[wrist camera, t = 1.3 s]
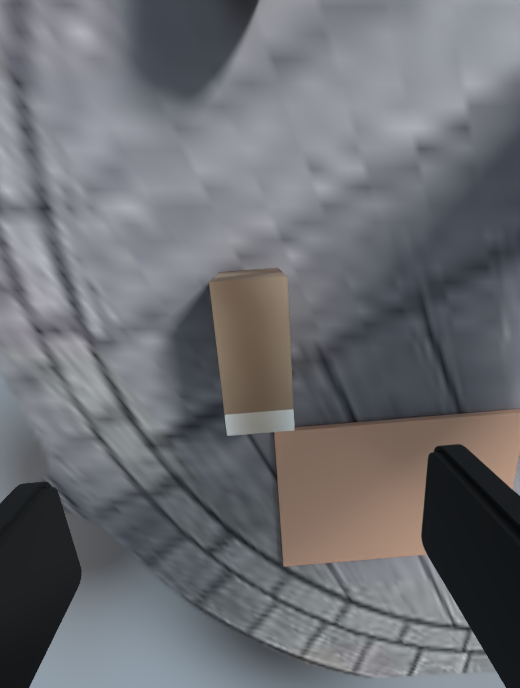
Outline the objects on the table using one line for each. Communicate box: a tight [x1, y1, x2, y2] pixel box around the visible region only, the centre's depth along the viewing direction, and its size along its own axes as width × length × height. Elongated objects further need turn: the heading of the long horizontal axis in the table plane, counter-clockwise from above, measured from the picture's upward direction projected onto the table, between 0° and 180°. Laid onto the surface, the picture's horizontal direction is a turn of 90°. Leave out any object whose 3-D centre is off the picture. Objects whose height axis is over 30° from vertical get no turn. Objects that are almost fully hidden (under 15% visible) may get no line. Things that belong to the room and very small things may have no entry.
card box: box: [209, 268, 295, 436], centre depth 21 cm, size 4×9×6 cm, turn 4°
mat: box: [274, 409, 520, 567], centre depth 28 cm, size 20×14×1 cm
